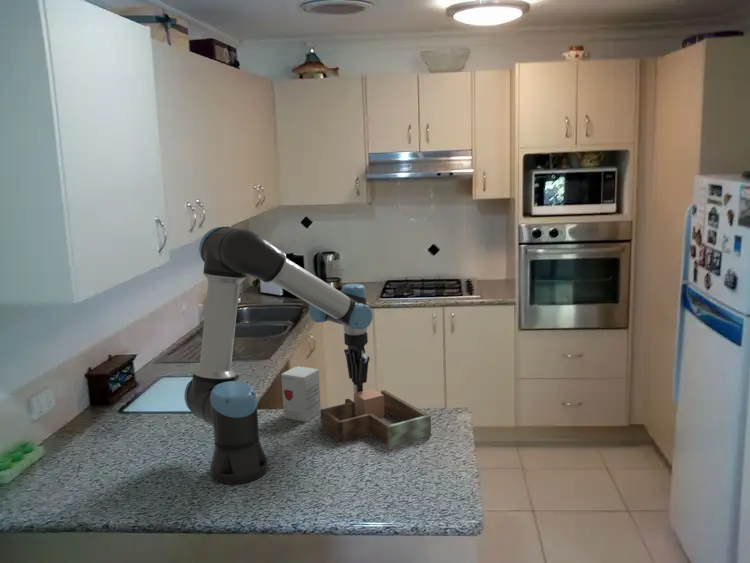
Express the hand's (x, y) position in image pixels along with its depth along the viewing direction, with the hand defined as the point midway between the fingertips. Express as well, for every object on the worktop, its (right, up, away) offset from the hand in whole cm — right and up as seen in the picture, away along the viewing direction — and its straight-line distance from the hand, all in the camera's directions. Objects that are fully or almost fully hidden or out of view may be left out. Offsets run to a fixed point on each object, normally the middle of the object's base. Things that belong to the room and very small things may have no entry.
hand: (358, 401), depth 222 cm
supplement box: (-18, -4, -4) cm, 19 cm away
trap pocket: (-3, -6, -17) cm, 18 cm away
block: (+4, -3, -5) cm, 7 cm away
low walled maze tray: (+9, -5, -15) cm, 18 cm away
